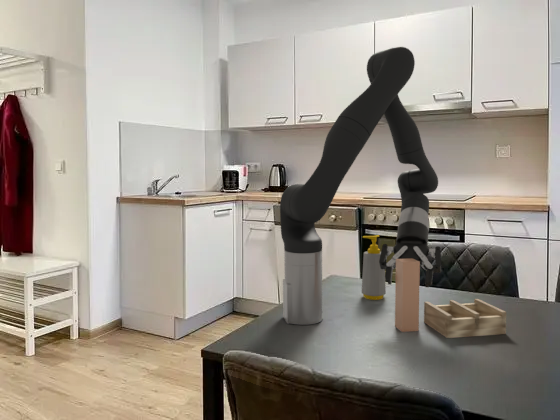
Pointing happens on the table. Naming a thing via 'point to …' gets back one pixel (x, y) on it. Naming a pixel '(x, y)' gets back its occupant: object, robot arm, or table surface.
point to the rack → (465, 319)
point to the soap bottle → (373, 273)
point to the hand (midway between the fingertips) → (408, 284)
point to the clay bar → (407, 295)
